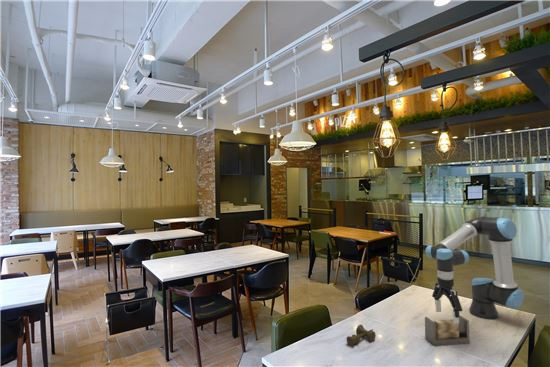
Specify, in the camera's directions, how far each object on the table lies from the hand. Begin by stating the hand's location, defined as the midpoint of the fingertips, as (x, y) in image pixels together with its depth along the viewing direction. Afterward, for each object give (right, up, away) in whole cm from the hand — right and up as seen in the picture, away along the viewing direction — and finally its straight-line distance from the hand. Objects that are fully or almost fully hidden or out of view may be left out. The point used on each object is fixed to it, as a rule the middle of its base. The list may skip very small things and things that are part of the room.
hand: (446, 317), depth 156 cm
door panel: (0, -12, 0) cm, 12 cm away
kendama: (-46, -14, +2) cm, 48 cm away
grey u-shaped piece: (0, -13, 0) cm, 13 cm away
